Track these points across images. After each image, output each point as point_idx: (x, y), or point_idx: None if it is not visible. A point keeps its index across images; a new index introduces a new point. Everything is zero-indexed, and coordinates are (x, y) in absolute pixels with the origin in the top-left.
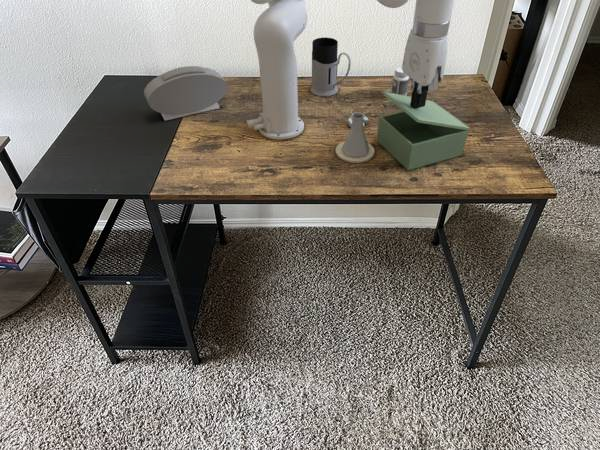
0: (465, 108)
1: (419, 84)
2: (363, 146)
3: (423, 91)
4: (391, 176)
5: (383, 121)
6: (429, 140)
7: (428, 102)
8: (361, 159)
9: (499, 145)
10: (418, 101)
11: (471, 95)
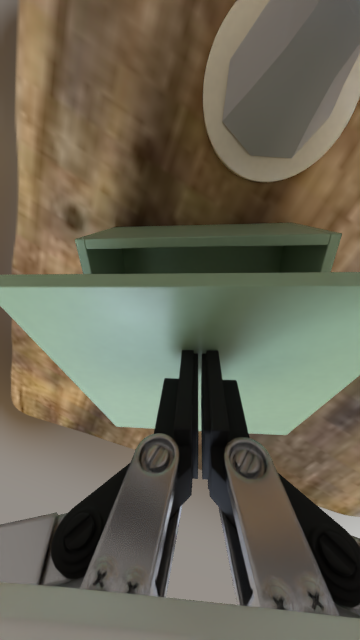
0: (276, 455)
1: (142, 541)
2: (242, 90)
3: (115, 477)
4: (99, 159)
5: (297, 233)
6: None
7: (274, 423)
8: (211, 82)
9: (145, 428)
10: (172, 392)
11: (306, 481)
